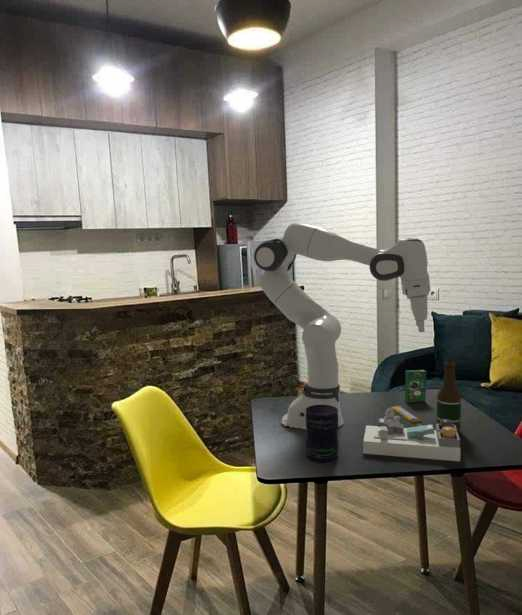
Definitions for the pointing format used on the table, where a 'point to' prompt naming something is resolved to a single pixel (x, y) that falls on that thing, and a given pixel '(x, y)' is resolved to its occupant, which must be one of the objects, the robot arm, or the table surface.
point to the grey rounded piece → (391, 415)
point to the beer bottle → (449, 398)
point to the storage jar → (322, 433)
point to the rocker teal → (414, 430)
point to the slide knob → (383, 432)
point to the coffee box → (415, 386)
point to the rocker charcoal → (396, 426)
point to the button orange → (448, 432)
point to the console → (412, 444)
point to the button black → (446, 423)
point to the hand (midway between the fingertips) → (420, 328)
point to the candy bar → (405, 414)
